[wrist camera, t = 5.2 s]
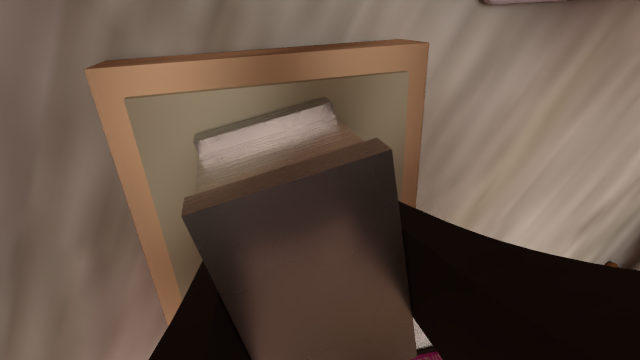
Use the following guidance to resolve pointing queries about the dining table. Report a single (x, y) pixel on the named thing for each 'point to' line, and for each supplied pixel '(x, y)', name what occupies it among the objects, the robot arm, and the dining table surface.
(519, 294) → the robot arm
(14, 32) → the dining table surface
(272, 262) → the housing
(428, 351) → the candy bar box
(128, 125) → the oak stand
